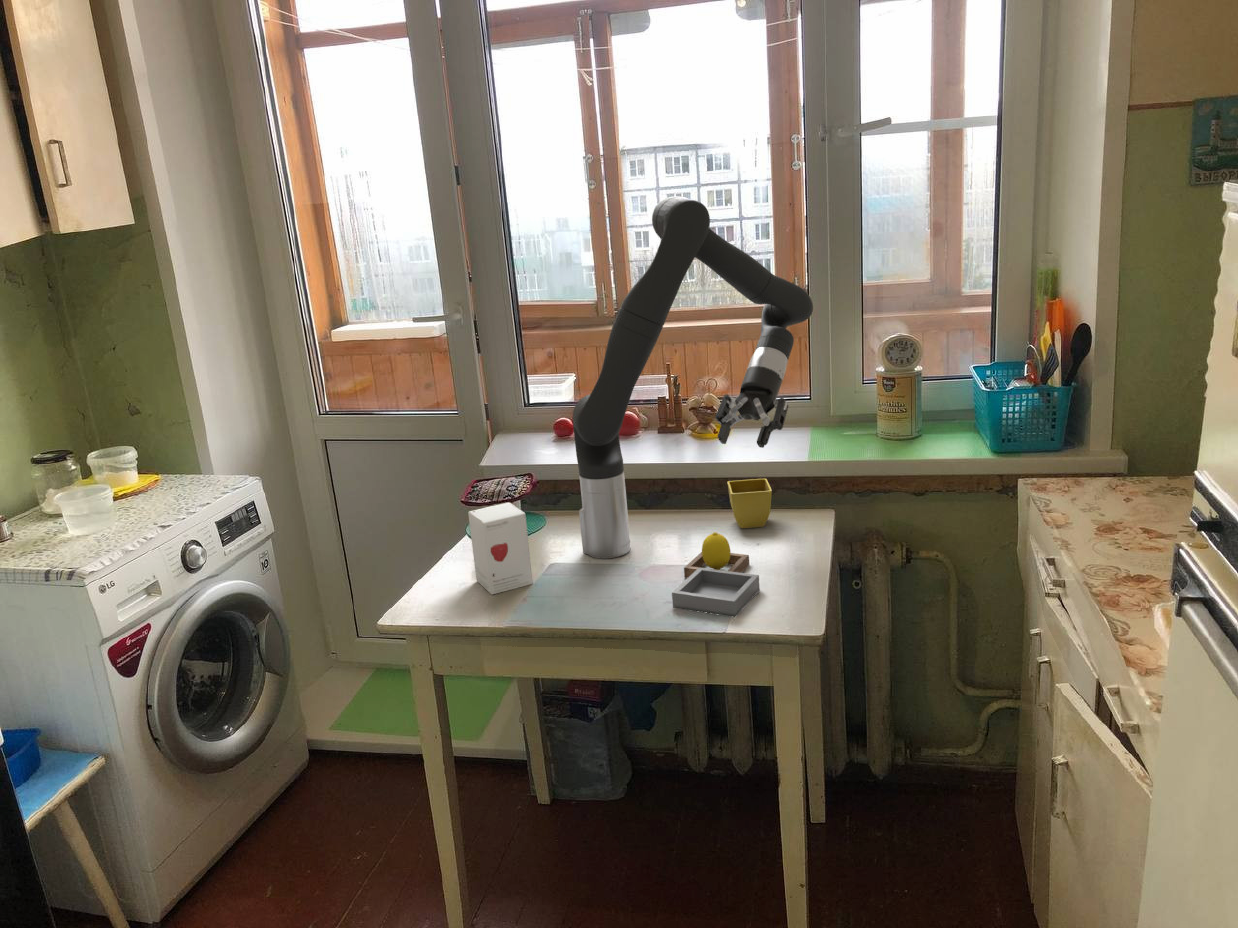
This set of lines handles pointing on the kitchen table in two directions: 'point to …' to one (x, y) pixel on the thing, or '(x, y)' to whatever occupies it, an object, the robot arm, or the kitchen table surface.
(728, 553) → the lemon
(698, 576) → the charcoal tray
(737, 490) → the flower pot
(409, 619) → the kitchen table surface
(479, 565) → the supplement box
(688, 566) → the wooden square frame
